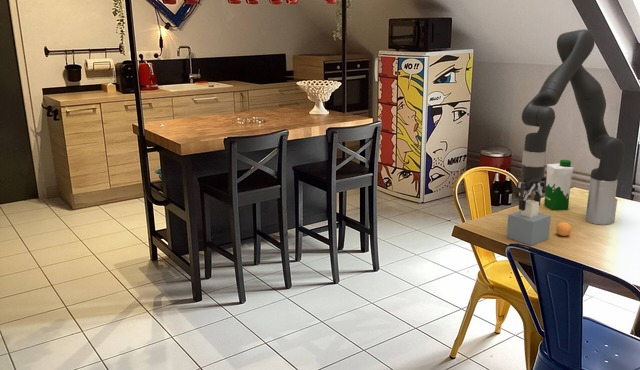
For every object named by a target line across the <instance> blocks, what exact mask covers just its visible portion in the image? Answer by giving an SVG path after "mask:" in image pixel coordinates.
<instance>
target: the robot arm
mask: <svg viewBox="0 0 640 370" xmlns="http://www.w3.org/2000/svg"><path fill="white" fill-rule="evenodd" d="M595 43H596V40H595V35H594V33H593V32H592V31H591V30H589V29H587V28H586V29H584V28H583V29H578V30H572V31H567V32H564V33H561V34H559V36H558V37H557V40H556V50H557V53H558V56H559V57H560V60H561V62H562V63H561V64H560V65H559V66H558V67H556V69H554V70H553V71H552V72H551V73H550V74H549V76H547V77H546V79H545V81H544V82H543V84H542V86H541V88H540V90H539V92H537V94H536V95H535V96H534V97H533V98H532V99H531V100H530V101H529V102H528V103H527V104H526V106H525V107H524V108H523V110H522V113H521V121H522V123H523V124H524V125H526V126H529V127H536V128H537V127H538V130H537V132H529V133H527V134H526V135H525V139H524V147H523V152H522V153H523V155H522V161H521V163H522V164H521V169H520V170H521V171H520V172H521V173H520V175H521V176H522V178H523V181H517V182H516V186H515V195H514V198H515V199H517V200H518V211H520V210H522V211H524V210H525V207H526V200H528V199H527V198H528V197H529V196H530V195H531V194H532V193H534V196H533V201H537V202H539V206H540V205H541V200H542V196H543V194H545V192H546V181H547V176H545V171H546V170H545V169H546V161H547V155H546V154H547V152H546V151H547V144H548V143H547V142H548V138H549V136H550V133H551V130H552V128H553V125H554V123H555V120H556V112H555V110H554V108H552V107H554V106H556V105H557V104H558V102H559V101H560V99H561V97H562V95H563V93H564V91H565V89H566V88H567V86H568V84H569V82H570V85H571V88H572V91H573V94H574V98H575V101H576V104H577V106H578V110H579V112H580V116H581V119H582V123H583V125H584V128H585V133H586V137H587V143H588V148H589V151H590V153H591V155H592V156H593V157H594V158H596V159H597V160H599V163H598V167H597V168H594V169H592V170H591V173H590V177H589V185H588V186H589V187H588V188H589V189H588V195H587V204H586V213H585V221H587V222H588V223H591V224H594V225H602V226H603V225H611V224H614V223H615V221H616V212H617V207H618V206H617V205H618V199H617V198H616V195H617V185H618V179H619V175H620V173H621V172H622V169H623V162H624V159H625V153H626V152H625V151H626V150H625V149H626V148H625V147H626V146H625V143H624V142H623V140H621V139H619V138H617V137H614V136H610V135H609V134H608V131H607V128H606V126H605V121H604V118H605V113H606V109H607V101H606V97H605V94H604V90H603V87H602V85H601V83H600V82H599V81H598V80H597V79H596V78H595V77H594V76H593V75H592V74H591V73H590V72H588V70H586V68H585V67H584V66H583V64H584V62H585V61H586V60H587V59H588V57H590V55H591V53H592V52H593V50H594V48H595Z"/></svg>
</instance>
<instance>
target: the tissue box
mask: <svg viewBox="0 0 640 370" xmlns="http://www.w3.org/2000/svg"><path fill="white" fill-rule="evenodd" d="M551 216H552V215H549V214H545V213H541V212H539V202H537V201H534V199H526V207H525V210H524V211H522V210H518V211H514V212H511V213H509V214H508V215H507V226H506V227H507V229H506V238H508V239H510V240H512V241H517V242H519V243H522V244H525V245H528V246H534V245H537V244H539V243H542V242H545V241H547V240H549V238H550V227H551V226H550V225H551V220H552V219H551Z"/></svg>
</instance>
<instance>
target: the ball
mask: <svg viewBox="0 0 640 370" xmlns="http://www.w3.org/2000/svg"><path fill="white" fill-rule="evenodd" d="M555 230H556V233H557V234H558V235H560V236H562V237H566V236H569V235H570V234H571V233H572V226H571V225H570V223H567V222H566V221H561V222H559V223H558V224H556V228H555Z"/></svg>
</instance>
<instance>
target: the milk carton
mask: <svg viewBox="0 0 640 370" xmlns="http://www.w3.org/2000/svg"><path fill="white" fill-rule="evenodd" d="M571 164H572V161H571V160H569V159H560V162H559V163H552V164H551V163H548V164H546V178H547V181H546V192H545V193H544V203H543V206H545V208H548V209H549V210H551V211H567V210H569V207H570V206H569V204H570V203H569V202H570V194H571V193H570V191H571V186H572V185H571V183H572V176H573V172H574V170H575V167H573V166H572V165H571Z"/></svg>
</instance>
